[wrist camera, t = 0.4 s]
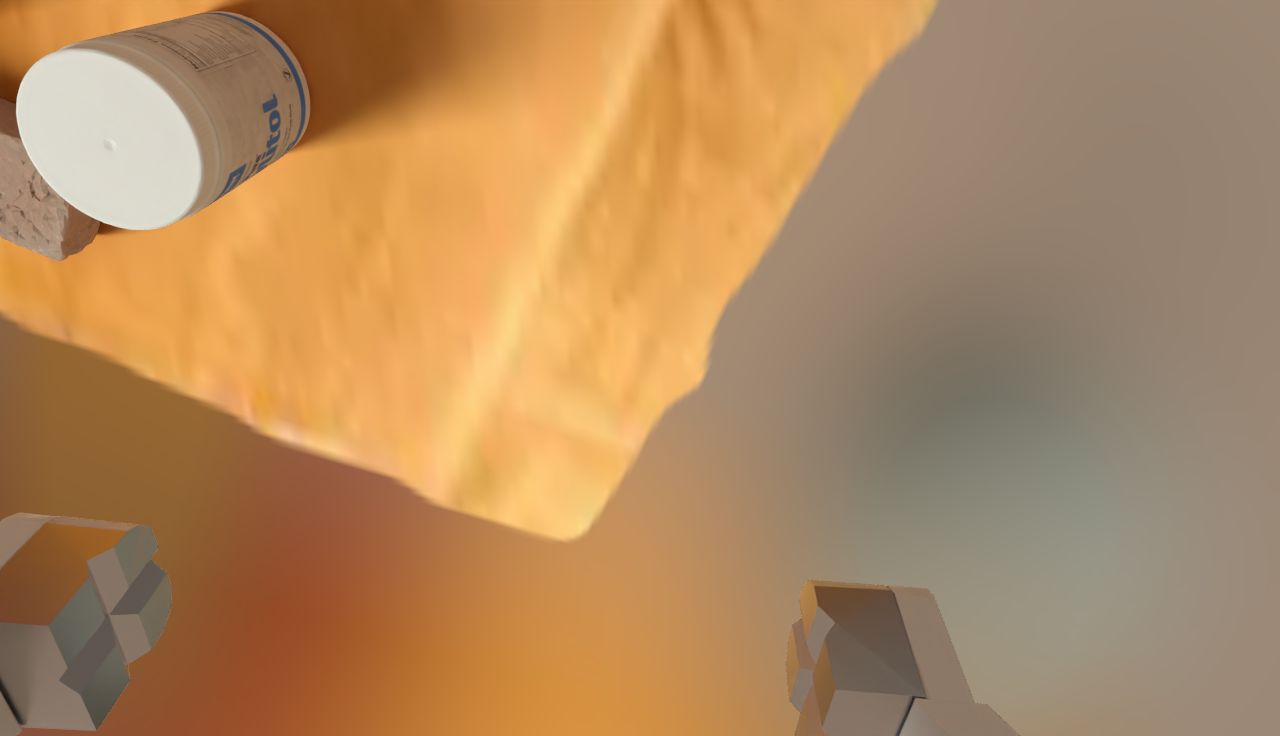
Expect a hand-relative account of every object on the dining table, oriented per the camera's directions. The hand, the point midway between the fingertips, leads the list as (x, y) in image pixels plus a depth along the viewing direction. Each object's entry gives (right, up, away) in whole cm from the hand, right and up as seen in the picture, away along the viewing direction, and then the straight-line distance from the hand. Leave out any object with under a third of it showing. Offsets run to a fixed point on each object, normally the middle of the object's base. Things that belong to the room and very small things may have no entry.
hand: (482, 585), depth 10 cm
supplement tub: (-24, +22, +43) cm, 54 cm away
